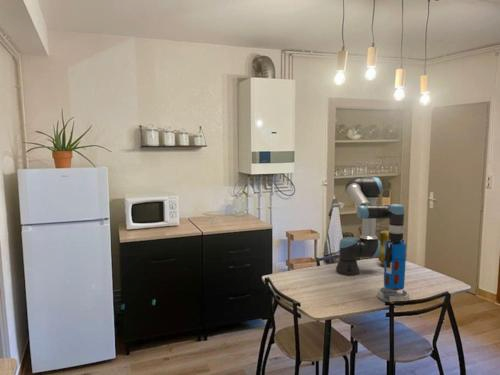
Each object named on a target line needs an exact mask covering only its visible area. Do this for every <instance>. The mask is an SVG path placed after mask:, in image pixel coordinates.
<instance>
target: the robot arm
mask: <svg viewBox="0 0 500 375" xmlns="http://www.w3.org/2000/svg"><path fill="white" fill-rule="evenodd" d="M344 190H345V193H346V195H347V196H348V197H350V198H351V200H352V202H353V203H354V205H355V206H356V216H357V218H358V219H362V223H361V224H362V228H361V229H362V231H361V235H360V236H359V239H358V238H357V237H353V236H347V237H344V238H341V239H340V240H339V244H338V246H339V249H338V250H339V252H338V253H339V254H338V255H339V256H338V262H337V265H336V267H335V271H336V273H337V274H339V275H341V276H357V275H359V273H360V269H359V265H358V258H376V257H377V258H378V255H379V253H380V250H381V245H380V244H381V243H380V239H379V238H378V237H379V236H377V235H376V228H377V226H376V225H377V224H376V223H377V222H376V221H377V220H378V219H380V220H382V219H385V220H386V219H388V221H389V222H388V231H389V239H390V240H391V242H390V243H387V250H386V254H385V259H384V261H387V268H386V273H389V274H392V262H391V260H392V255H391V251H392V247H393V246H392V244H397V243H400V242H404V243H405V241H404V229H405V228H404V222H405V206H404V205H403V204H399V203H392V204H384V205H377V200H378V199H379V198H380V196H381V195H382V193H383V184H382V181H381V179H380V178H379V177H377V176H376V177H375V176H361V177H360V176H355V177H352V178H350V179H348V181H347V182H346V184H345V187H344Z"/></svg>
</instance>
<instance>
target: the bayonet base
mask: <svg viewBox="0 0 500 375" xmlns="http://www.w3.org/2000/svg"><path fill="white" fill-rule="evenodd" d="M376 298H377V299H378V301H380V302H383V303H385V302H391V301H404V300H409V301H410V292H409V291H408V290H406V289H405V288H404V289H402V293H401V292H398V290H391V289H388V288H386V287H384V286H380V287H378V289H377V297H376Z"/></svg>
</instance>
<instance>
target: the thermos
mask: <svg viewBox="0 0 500 375" xmlns="http://www.w3.org/2000/svg"><path fill="white" fill-rule="evenodd" d="M390 242H391V241H386V243H385V254H386V250H387V243H390ZM392 246H393V247H392V251H391V255H392V260H391V262H392V274H389V273H386V268H387V261H385V262H384V267H383V287H386V288H388V289H391V290H397V291H403V289H405V278H406V258H407V257H406V255H407V254H406V253H407V243H405V241H404V242H400V243H397V244H392Z"/></svg>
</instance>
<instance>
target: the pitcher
mask: <svg viewBox="0 0 500 375" xmlns="http://www.w3.org/2000/svg"><path fill="white" fill-rule="evenodd" d="M378 237H379V238H378V239H379V241H380V243H381V244H380V245H381V250H380V253H379V255H378V256H377V258H378V260H379V261H380V262H381V265H380V266H381V267H383V268H384V262H385V261H384V259H385V243H386V241H391V240H390V239H389V230H381V231H380V232H379V236H378Z"/></svg>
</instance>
